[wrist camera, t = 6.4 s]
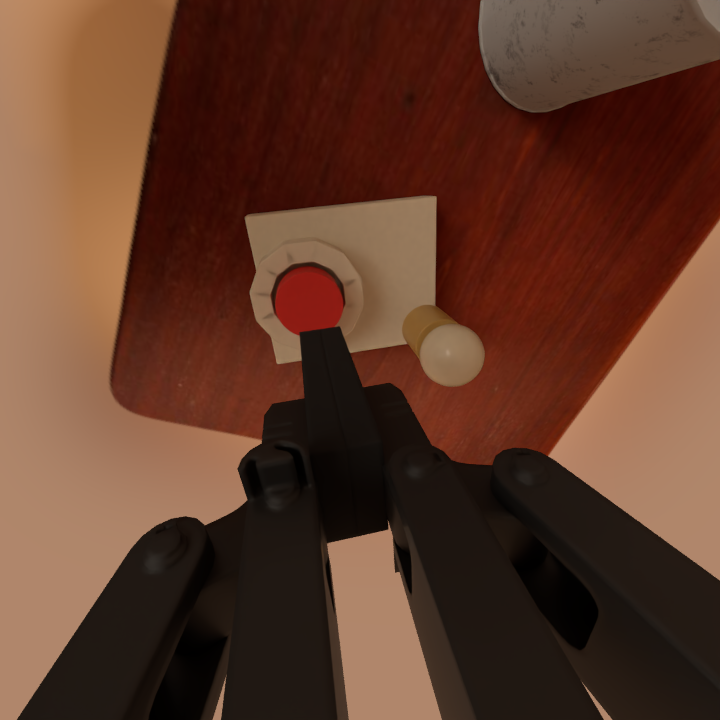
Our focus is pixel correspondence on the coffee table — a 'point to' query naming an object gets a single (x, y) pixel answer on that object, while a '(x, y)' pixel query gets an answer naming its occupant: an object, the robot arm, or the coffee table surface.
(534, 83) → the unlabeled tin can
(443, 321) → the led lamp
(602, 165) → the coffee table surface
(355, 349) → the beige button base
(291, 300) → the lamp button
